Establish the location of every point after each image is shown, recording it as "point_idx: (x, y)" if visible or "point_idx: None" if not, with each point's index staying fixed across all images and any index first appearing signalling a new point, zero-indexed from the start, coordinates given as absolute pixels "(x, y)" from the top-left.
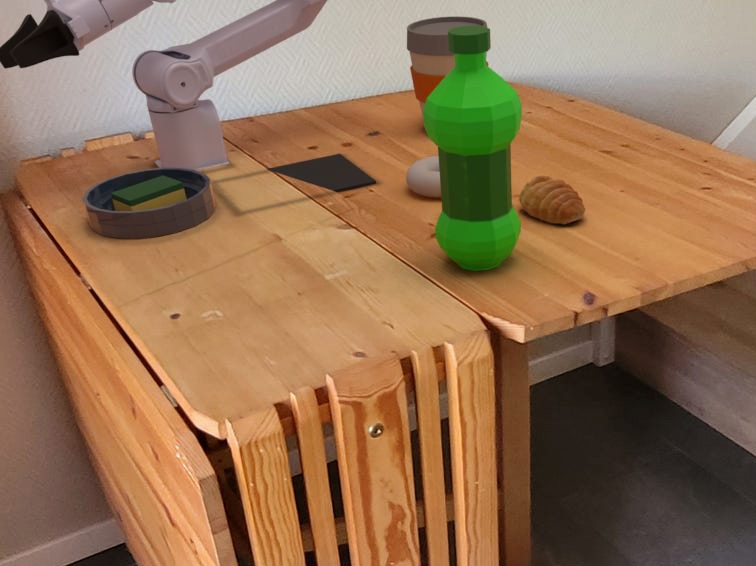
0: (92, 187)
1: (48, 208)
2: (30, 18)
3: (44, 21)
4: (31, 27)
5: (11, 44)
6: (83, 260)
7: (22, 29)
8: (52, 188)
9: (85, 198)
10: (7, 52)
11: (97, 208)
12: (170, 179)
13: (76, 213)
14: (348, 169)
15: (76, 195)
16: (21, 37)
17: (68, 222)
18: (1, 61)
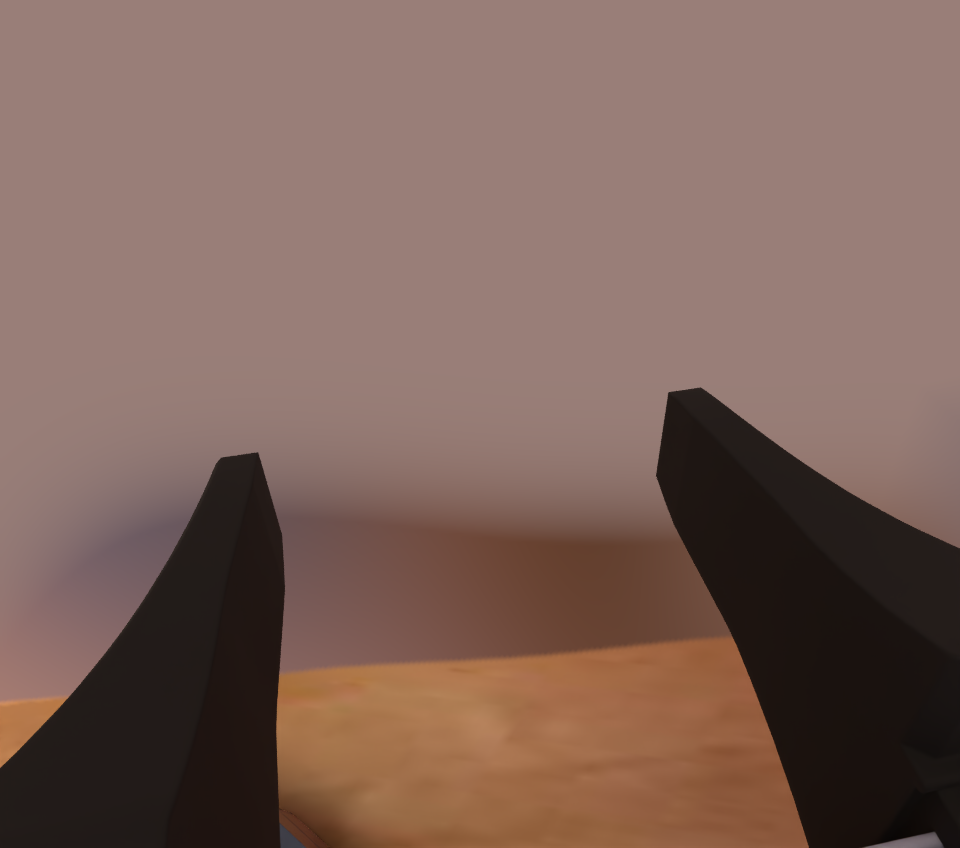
0: (290, 843)
1: (537, 681)
2: (927, 660)
3: (36, 743)
4: (874, 665)
5: (735, 488)
6: (20, 724)
7: (833, 571)
8: (764, 723)
9: None
10: (695, 467)
11: None
12: None
13: (424, 769)
14: None
15: (626, 803)
16: (792, 565)
17: (355, 728)
18: (662, 440)
